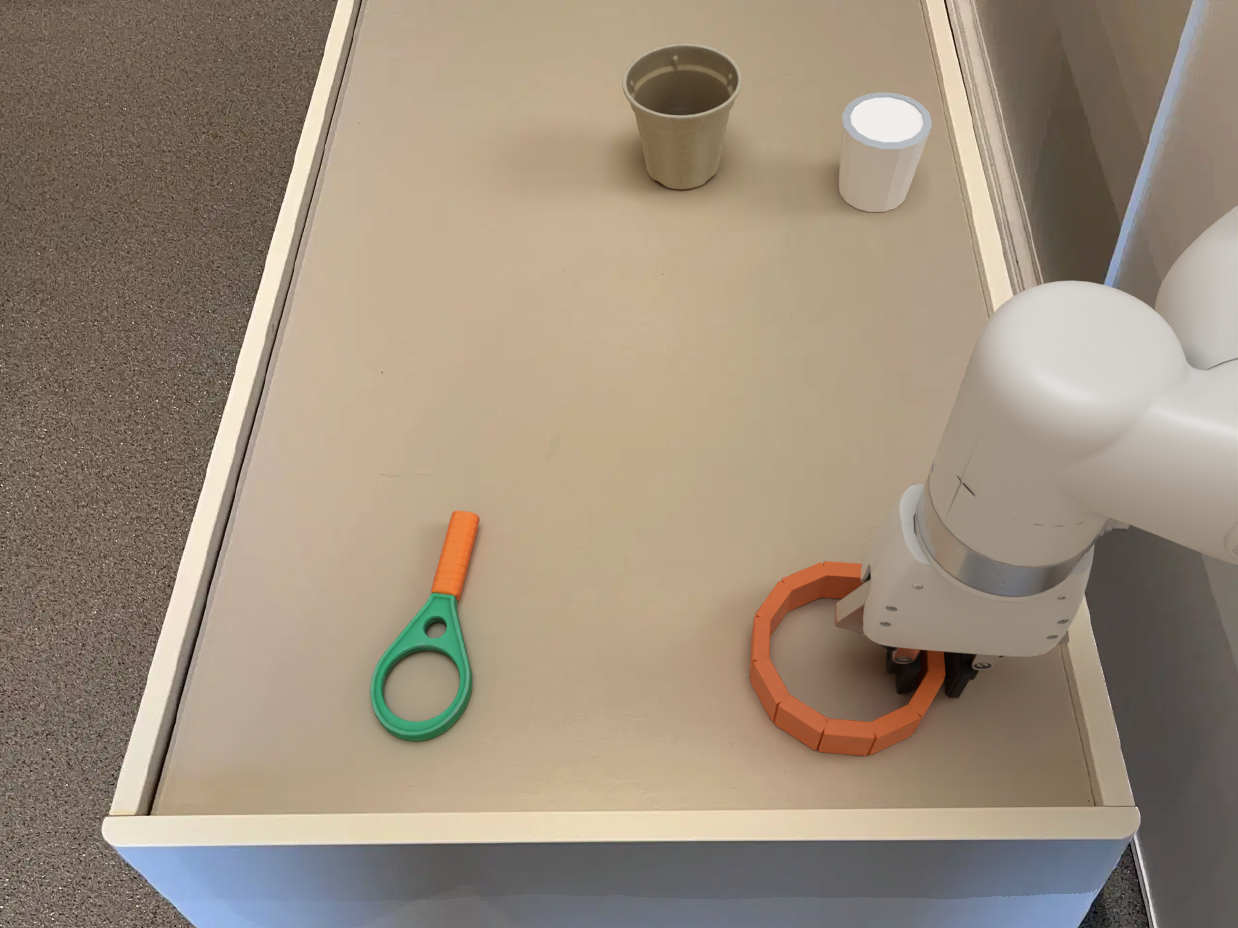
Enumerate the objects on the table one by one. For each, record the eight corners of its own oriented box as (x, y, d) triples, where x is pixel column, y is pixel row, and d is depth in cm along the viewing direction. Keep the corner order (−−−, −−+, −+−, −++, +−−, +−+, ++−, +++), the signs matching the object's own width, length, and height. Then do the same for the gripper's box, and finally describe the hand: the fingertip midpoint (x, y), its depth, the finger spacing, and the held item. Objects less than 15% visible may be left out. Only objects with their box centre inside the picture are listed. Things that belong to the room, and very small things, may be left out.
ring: (928, 591, 66) (938, 568, 64) (939, 762, 60) (950, 745, 58) (753, 578, 67) (756, 555, 65) (746, 745, 61) (749, 727, 59)
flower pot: (607, 152, 91) (601, 65, 84) (702, 117, 93) (704, 29, 86) (659, 218, 86) (657, 132, 79) (758, 179, 88) (765, 92, 81)
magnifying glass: (458, 748, 62) (453, 738, 61) (360, 735, 63) (353, 725, 61) (512, 528, 70) (509, 515, 69) (425, 518, 71) (420, 505, 70)
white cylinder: (855, 151, 90) (868, 80, 84) (929, 180, 87) (947, 109, 81) (815, 197, 87) (825, 127, 81) (891, 229, 84) (907, 159, 78)
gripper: (1172, 457, 49) (1055, 625, 65) (826, 437, 51) (792, 606, 66) (1204, 601, 45) (1071, 744, 60) (827, 574, 47) (790, 720, 62)
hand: (926, 671), depth 63 cm, fingers closed
